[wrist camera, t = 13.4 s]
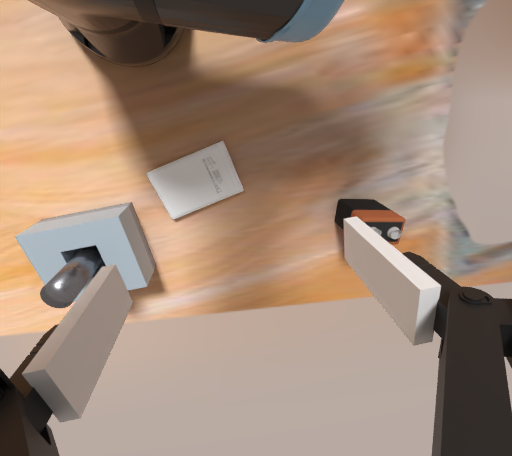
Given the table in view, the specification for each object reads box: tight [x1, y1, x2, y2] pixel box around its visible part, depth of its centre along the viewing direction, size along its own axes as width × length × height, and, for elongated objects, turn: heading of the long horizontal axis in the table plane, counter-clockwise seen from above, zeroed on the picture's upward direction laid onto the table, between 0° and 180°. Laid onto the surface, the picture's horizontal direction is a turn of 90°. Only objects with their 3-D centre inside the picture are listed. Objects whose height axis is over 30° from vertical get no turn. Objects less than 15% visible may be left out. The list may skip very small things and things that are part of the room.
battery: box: [335, 199, 405, 244], centre depth 43 cm, size 4×7×10 cm, turn 87°
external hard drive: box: [146, 141, 244, 220], centre depth 42 cm, size 2×8×12 cm
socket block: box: [15, 202, 156, 302], centre depth 42 cm, size 12×14×6 cm
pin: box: [40, 245, 104, 308], centre depth 38 cm, size 4×4×12 cm
